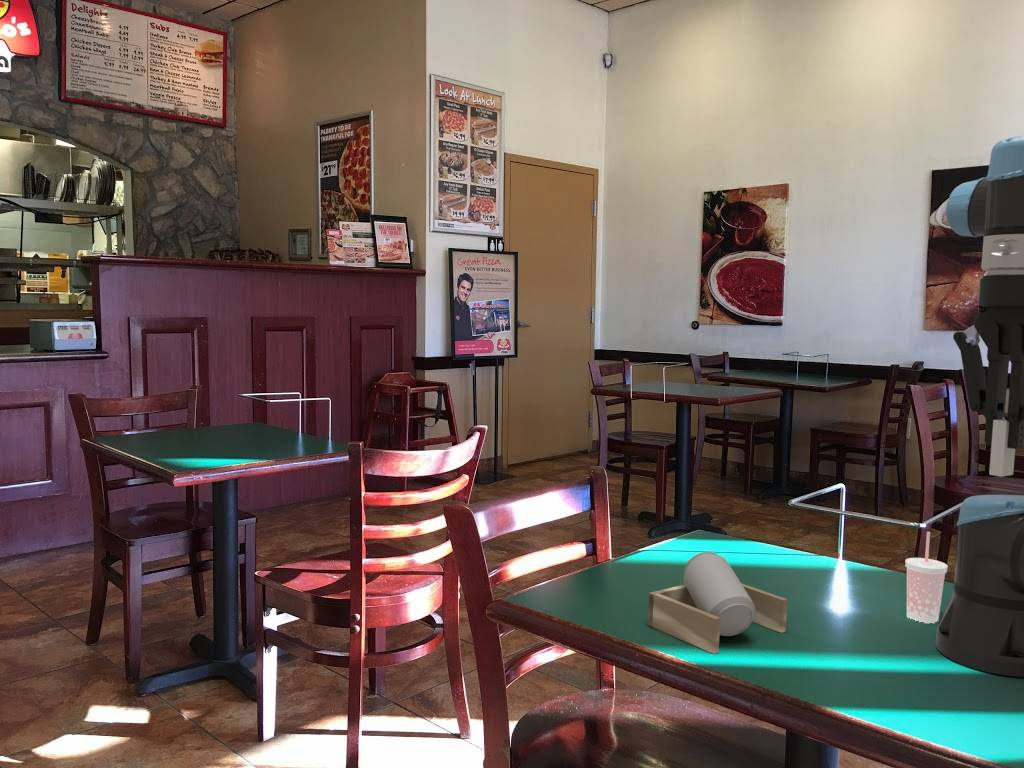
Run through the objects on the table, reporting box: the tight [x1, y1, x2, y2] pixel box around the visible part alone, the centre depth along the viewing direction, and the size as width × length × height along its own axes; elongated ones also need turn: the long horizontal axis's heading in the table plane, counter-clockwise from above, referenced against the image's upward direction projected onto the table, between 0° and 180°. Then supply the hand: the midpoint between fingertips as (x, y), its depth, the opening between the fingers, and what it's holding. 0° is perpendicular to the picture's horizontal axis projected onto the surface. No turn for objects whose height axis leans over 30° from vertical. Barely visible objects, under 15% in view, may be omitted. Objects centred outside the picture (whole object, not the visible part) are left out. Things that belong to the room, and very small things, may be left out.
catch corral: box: [647, 582, 788, 655], centre depth 132 cm, size 16×13×5 cm
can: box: [683, 551, 756, 637], centre depth 131 cm, size 8×8×12 cm
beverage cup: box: [904, 531, 949, 624], centre depth 139 cm, size 6×6×14 cm
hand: (1001, 474), depth 104 cm, fingers closed
